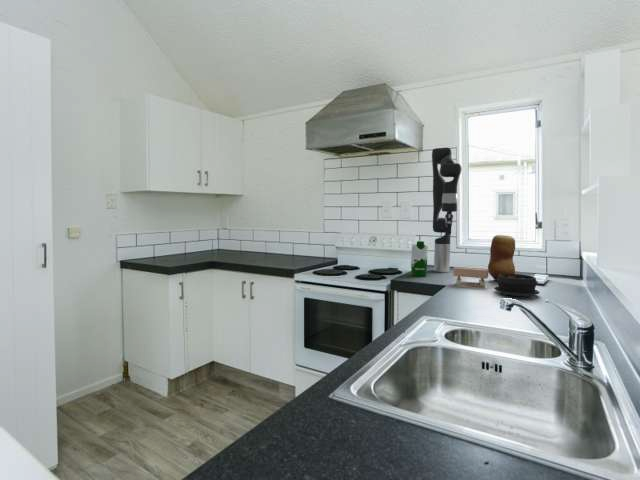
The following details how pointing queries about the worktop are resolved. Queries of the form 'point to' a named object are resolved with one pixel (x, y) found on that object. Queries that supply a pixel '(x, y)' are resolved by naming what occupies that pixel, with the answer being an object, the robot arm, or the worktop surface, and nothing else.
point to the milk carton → (419, 259)
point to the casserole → (517, 285)
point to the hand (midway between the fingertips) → (448, 233)
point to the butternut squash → (501, 256)
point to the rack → (479, 284)
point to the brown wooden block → (470, 272)
